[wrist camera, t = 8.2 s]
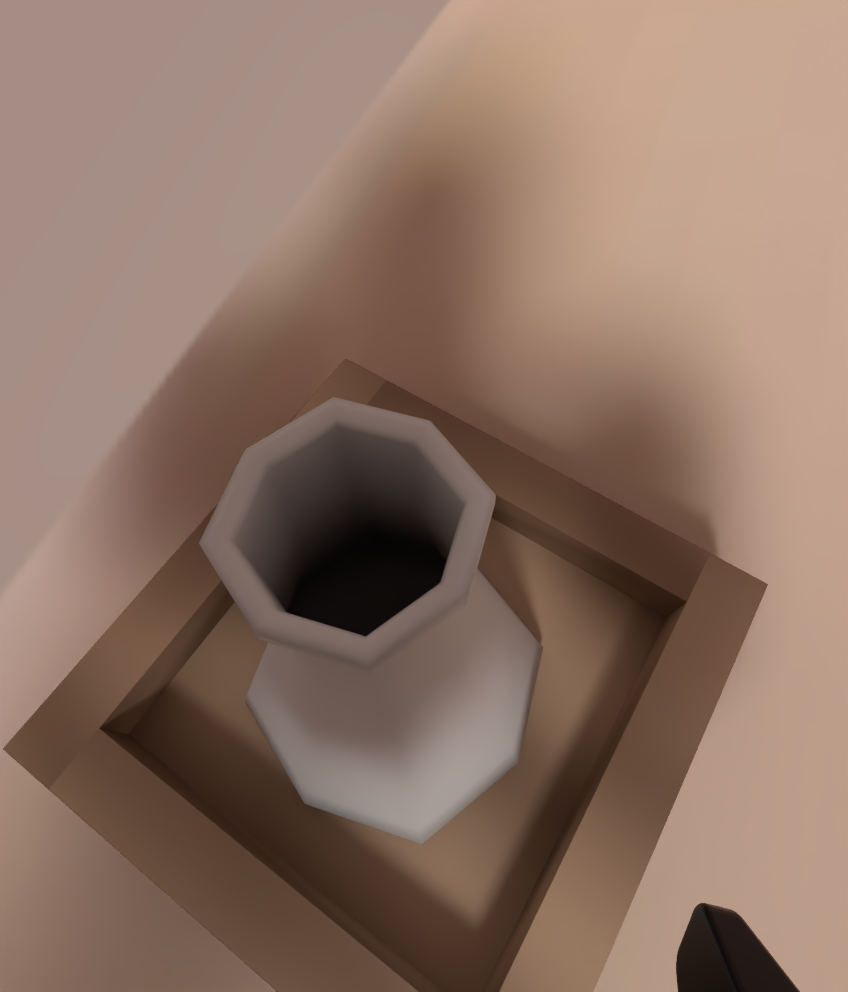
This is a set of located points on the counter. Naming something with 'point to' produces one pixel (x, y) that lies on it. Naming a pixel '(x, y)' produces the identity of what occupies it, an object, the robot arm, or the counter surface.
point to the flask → (374, 617)
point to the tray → (477, 828)
